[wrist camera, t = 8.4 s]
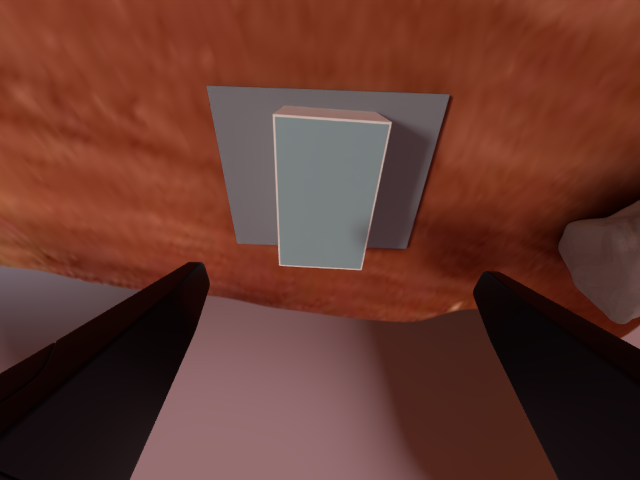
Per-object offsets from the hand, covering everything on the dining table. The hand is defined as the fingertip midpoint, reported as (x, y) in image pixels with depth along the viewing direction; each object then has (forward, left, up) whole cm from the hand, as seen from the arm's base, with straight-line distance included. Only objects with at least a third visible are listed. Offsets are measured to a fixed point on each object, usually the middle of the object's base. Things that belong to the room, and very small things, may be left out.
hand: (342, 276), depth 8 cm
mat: (+1, +1, -11) cm, 11 cm away
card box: (+1, +1, -11) cm, 11 cm away
